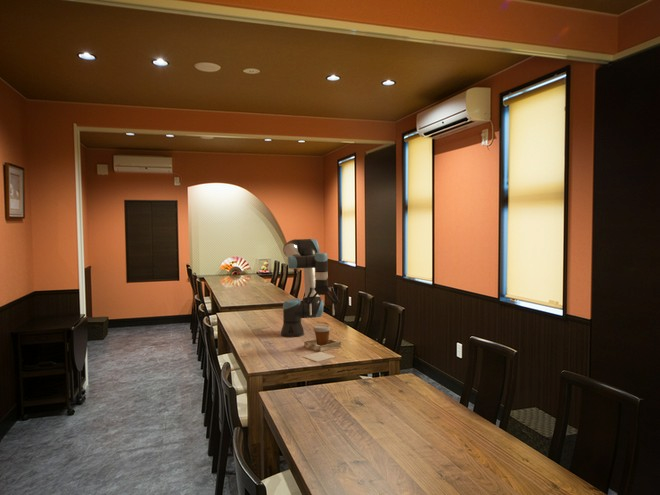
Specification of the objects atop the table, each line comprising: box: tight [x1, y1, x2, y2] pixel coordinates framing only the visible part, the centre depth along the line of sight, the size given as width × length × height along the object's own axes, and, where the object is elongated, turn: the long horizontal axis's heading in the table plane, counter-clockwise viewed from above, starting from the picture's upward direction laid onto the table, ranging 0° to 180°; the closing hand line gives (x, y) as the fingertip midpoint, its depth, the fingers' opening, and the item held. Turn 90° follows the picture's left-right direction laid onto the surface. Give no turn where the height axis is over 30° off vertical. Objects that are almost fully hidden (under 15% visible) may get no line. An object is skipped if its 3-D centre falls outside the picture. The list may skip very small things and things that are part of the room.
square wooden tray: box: [303, 338, 342, 352], centre depth 278 cm, size 15×15×3 cm
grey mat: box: [302, 351, 336, 363], centre depth 257 cm, size 13×13×1 cm
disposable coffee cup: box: [314, 324, 331, 346], centre depth 278 cm, size 10×10×12 cm
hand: (322, 314), depth 277 cm, fingers open, 13 cm apart
